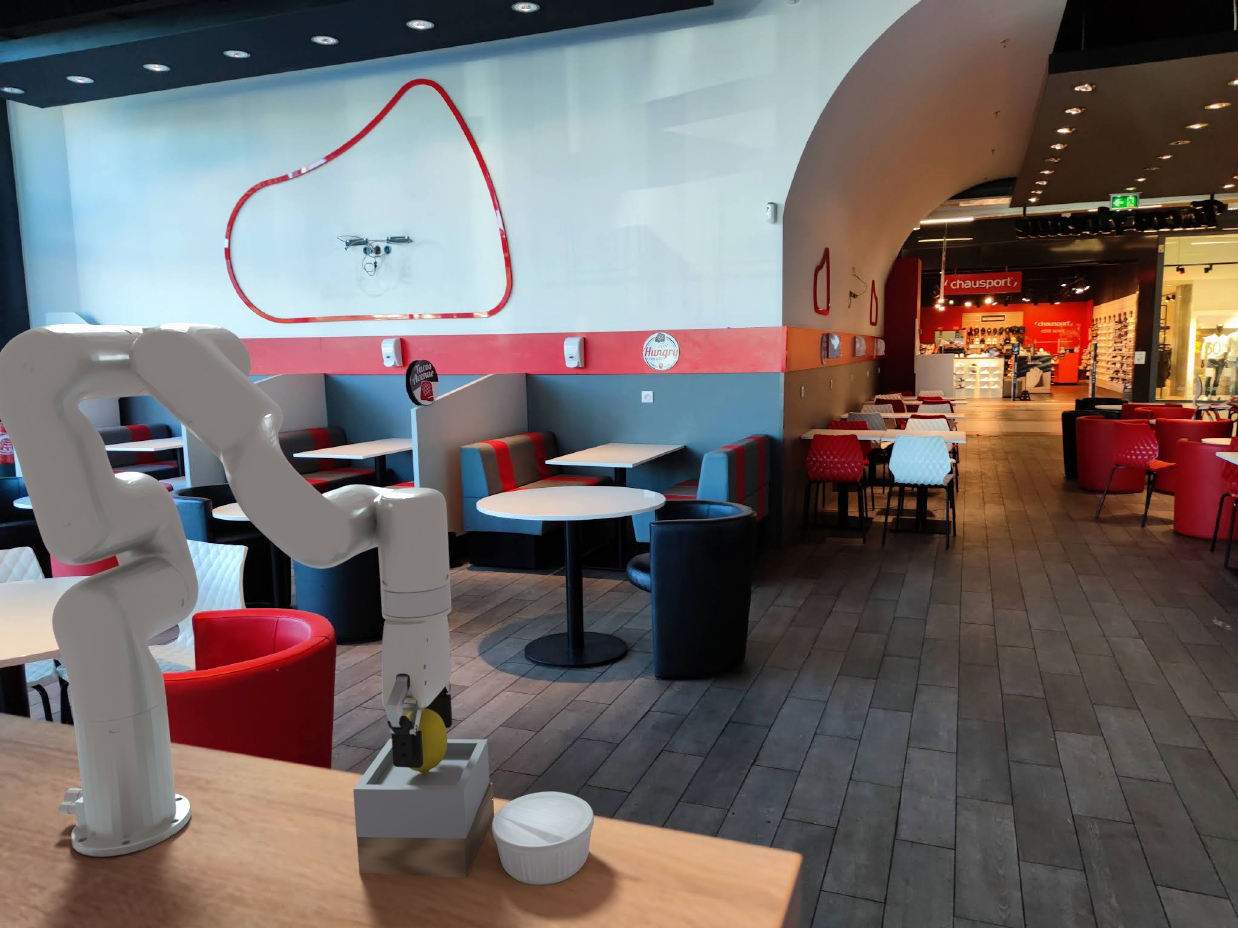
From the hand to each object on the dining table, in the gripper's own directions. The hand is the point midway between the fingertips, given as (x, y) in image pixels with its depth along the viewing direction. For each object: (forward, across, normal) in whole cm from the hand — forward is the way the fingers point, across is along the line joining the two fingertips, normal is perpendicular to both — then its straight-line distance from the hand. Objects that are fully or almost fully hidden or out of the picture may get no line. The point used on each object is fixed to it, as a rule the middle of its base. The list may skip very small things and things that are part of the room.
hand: (424, 745), depth 98 cm
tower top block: (+7, 0, 0) cm, 7 cm away
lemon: (+4, 0, 0) cm, 4 cm away
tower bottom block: (+12, 0, 0) cm, 12 cm away
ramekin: (+12, +2, +14) cm, 19 cm away
